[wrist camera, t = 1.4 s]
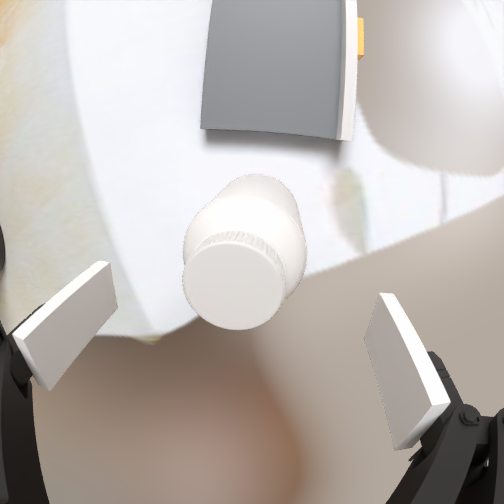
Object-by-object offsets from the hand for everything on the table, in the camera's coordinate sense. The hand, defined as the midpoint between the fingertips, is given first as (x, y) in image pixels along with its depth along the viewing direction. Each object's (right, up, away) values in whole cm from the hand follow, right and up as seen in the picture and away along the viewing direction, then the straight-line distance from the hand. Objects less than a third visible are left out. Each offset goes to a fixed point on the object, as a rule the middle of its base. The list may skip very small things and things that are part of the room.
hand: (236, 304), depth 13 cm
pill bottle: (+1, +6, +15) cm, 16 cm away
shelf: (+3, +23, +8) cm, 24 cm away
